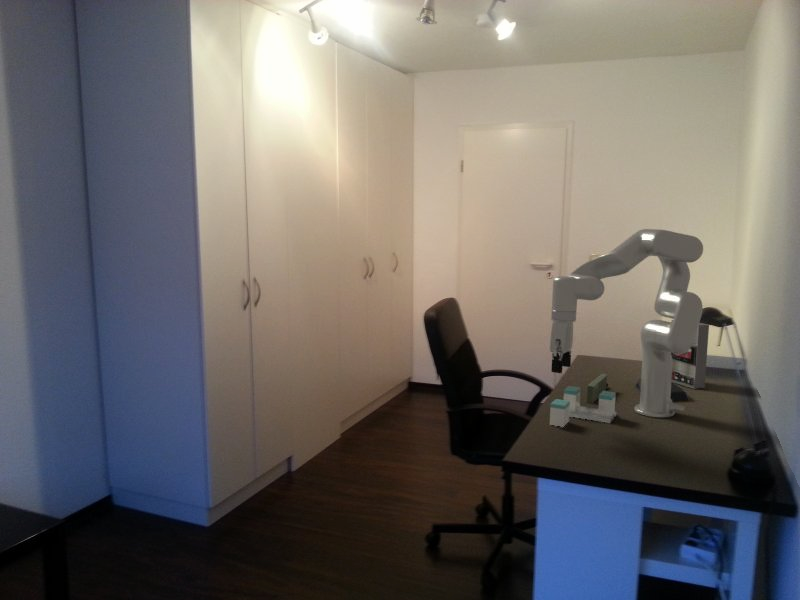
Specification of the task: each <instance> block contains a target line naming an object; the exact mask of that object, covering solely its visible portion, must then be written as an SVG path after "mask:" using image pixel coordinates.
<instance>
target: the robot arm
mask: <svg viewBox="0 0 800 600" xmlns="http://www.w3.org/2000/svg"><path fill="white" fill-rule="evenodd" d="M703 253H704V244H703V243H702V241H701V240H700V238H698V237H696V236H693V235H690V234H684V233H679V232H675V231H671V230H665V229H657V228H656V229H654V228H653V229H652V228H643V229H642V228H641V229H640V230H637V231H636V232H635V233H633V234H632V235H630V236H629V237H628V238H626V239H625V240H624V241H623V242H621V243H620V244H619V245H617V246H616V247H615V248H613V249H612V250H611V251H609V252H607V253H604V254H602V255H600V256H597V257H595V258H593V259H590V260H589V261H587V262H585V263H583V264H581V265H580V266H579V267H577V268H575V269H574V270H573V271H572V272H570V274H568V275H567V276H565V275H560V276H556V277H555V278H554V279H553V280H552V295H551V296H552V297H551V300H552V301H551V314H550V315H551V319H550V320H551V321H552V324H551V325H552V326H551V331H550V342H549V352H550V353H552V354H551V373H557V374H562V372H563V367H566V368H571V365H572V349H573V343H574V323H575V322H577V307H578V300H584V301H596V300H598V299H600V298H601V297H602V296H603V294H604V292H605V284H604V282H603V281H602V279H607V278H611V277H618V276H621V275H622V276H623V275H625V274H627V273H629V272H630V271H631V270H633V269H634V268H635V267H636V266H638V265H639V264H640V263H641V262H643V261H644V260H646V259H647V258H648V257H652V256H653V257H657V258H658V260H659V261H660V263H661V267H662V276H661V281H660V284H659V288H658V289H657V290H658V291H657V294H656V297H655V300H654V304H653V305H654V307H653V308H654V312H656V314H658V315H659V316H661V317H665V318H668V319H669V318H670V319H671V320H673V323H671V321H667V320H662V319H651V320H649V321H646V323H644V324H643V326H642V328H641V330H640V342H641V348H642V361H641V362H642V363H641V376H640V380H641V392H640V391H639V392H640V395H639V404H636V405H635V406H634V411H635V412H636V413H637V414H640V415H642V416H646V417H651V418H670V417H673V416H674V415H675V412H681V413H684V411H685V406H684V405H682V404H680V403H679V404H676V403H674V402H673V401H672V399H670V396H671V381H672V368H673V360H672V355H671V353H675V354H683V353H685V352H687V351H688V350H689V349H690V347H691V346H692V343H693V341H694V338H695V335H696V332H697V328H698V325H699V323H701V322H700V321H701V318H702V315H703V314H702V313H703V307H704V306H703V302H702V299H701V297H699V295H698V294H696V293H694V292H691V291H688V288H689V285H690V280H691V271H690V267H689V265H688V264H689V263H691V264H692V263H694V262H697V261H698V260H699V259H700V258H701V257H702V255H703Z"/></svg>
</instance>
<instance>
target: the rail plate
mask: <svg viewBox="0 0 800 600" xmlns="http://www.w3.org/2000/svg"><path fill="white" fill-rule="evenodd" d="M581 389H582V388H581V387H579V386H574V385H568V386H567V387H566V388H565V389H563V400H566V401H570V408H569V418H573V417H575V418H574V419H579V418H581V419H580V420H585V419H587V420H586V421H591V420H593V421H592V422H597V421H598V422H599V423H604V422H605V424H611V423H612V421H613V420H614V419H615V418H614V417H616V416H617V411H616V410H615V408H616V407H615V406H616V395H617V393H616V392H615V391H608V390H606V391H602V392H601V393H600V395H599V398H598V408H594V407H587V406H582V405H581V404H580V403H581Z"/></svg>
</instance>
